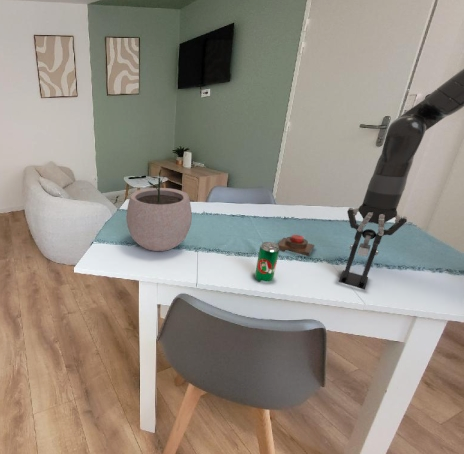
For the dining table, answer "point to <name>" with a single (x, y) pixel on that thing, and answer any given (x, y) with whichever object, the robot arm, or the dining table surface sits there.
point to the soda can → (266, 261)
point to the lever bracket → (358, 279)
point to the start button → (297, 238)
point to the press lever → (366, 242)
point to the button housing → (295, 246)
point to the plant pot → (159, 217)
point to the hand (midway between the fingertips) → (366, 243)
